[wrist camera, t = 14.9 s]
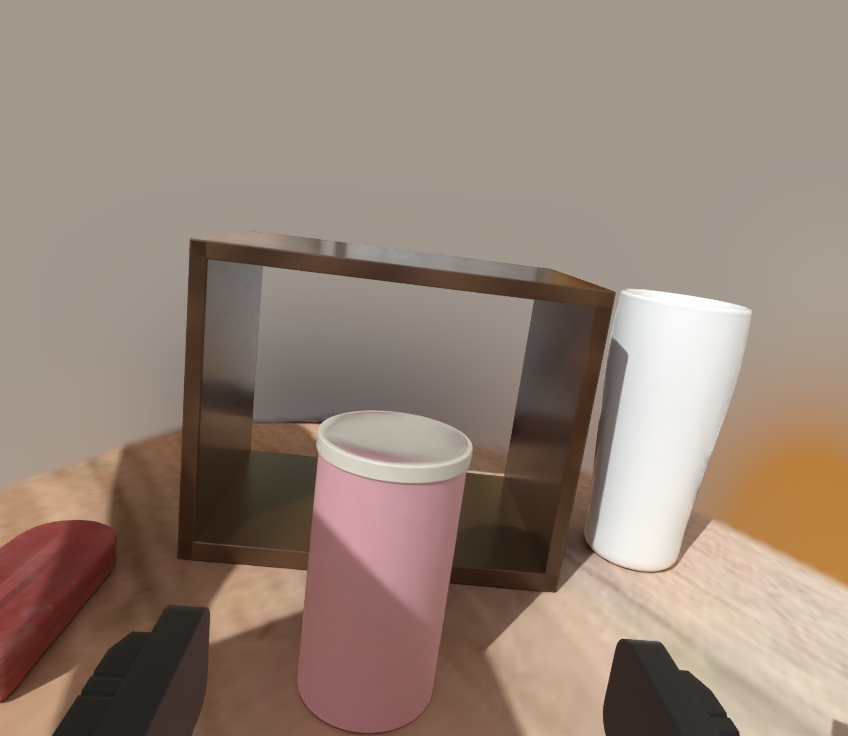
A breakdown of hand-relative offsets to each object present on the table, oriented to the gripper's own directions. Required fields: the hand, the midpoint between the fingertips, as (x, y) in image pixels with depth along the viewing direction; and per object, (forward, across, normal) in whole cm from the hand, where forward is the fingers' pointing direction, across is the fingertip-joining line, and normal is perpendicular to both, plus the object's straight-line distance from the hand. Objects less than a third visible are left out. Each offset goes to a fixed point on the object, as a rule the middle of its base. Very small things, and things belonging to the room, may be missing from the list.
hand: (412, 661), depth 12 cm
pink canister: (+10, 0, +9) cm, 14 cm away
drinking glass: (+22, -15, +9) cm, 28 cm away
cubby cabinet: (+23, 0, +9) cm, 25 cm away
